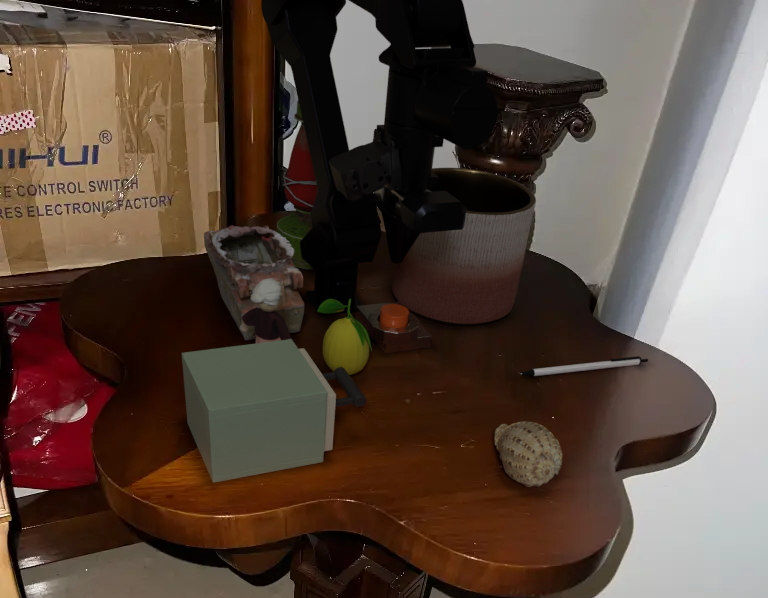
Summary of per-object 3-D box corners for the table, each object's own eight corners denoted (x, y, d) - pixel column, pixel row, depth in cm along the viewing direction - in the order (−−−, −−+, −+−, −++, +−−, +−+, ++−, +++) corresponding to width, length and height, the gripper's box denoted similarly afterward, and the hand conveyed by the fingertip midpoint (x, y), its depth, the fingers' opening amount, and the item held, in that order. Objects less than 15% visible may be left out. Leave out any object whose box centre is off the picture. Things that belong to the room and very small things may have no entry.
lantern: (353, 273, 115) (374, 43, 96) (283, 274, 112) (289, 37, 93) (331, 236, 125) (346, 20, 105) (266, 236, 122) (269, 14, 102)
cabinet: (290, 407, 87) (291, 338, 81) (323, 462, 80) (327, 391, 74) (187, 423, 83) (181, 352, 77) (212, 483, 76) (208, 410, 70)
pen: (647, 364, 102) (650, 357, 102) (521, 378, 96) (523, 371, 96) (644, 361, 103) (646, 353, 102) (518, 375, 97) (520, 367, 96)
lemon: (314, 361, 95) (318, 285, 88) (361, 361, 96) (368, 285, 90) (321, 391, 90) (326, 312, 84) (371, 390, 91) (379, 312, 85)
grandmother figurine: (304, 384, 91) (308, 282, 83) (288, 399, 88) (290, 295, 80) (248, 365, 93) (246, 264, 85) (230, 379, 90) (226, 276, 82)
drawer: (337, 396, 88) (340, 343, 84) (369, 443, 82) (375, 388, 77) (209, 416, 83) (206, 360, 78) (233, 468, 76) (231, 410, 72)
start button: (375, 317, 99) (376, 305, 97) (400, 314, 100) (401, 302, 99) (386, 331, 96) (387, 318, 95) (412, 327, 97) (413, 315, 96)
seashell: (471, 479, 85) (534, 497, 77) (465, 426, 83) (529, 439, 75) (523, 460, 88) (589, 476, 80) (519, 409, 86) (586, 420, 78)
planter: (434, 340, 102) (452, 221, 92) (368, 283, 113) (378, 171, 103) (537, 318, 110) (565, 207, 100) (466, 267, 121) (484, 162, 110)
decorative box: (199, 350, 94) (194, 275, 88) (183, 278, 108) (177, 209, 102) (305, 344, 98) (308, 271, 92) (276, 275, 112) (276, 208, 106)
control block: (344, 318, 104) (346, 294, 102) (398, 312, 107) (401, 288, 105) (378, 360, 97) (380, 335, 94) (434, 352, 100) (438, 327, 97)
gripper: (308, 97, 85) (305, 237, 95) (378, 151, 73) (365, 304, 83) (399, 96, 89) (386, 230, 99) (480, 147, 77) (455, 293, 87)
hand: (395, 262), depth 92 cm, fingers closed
